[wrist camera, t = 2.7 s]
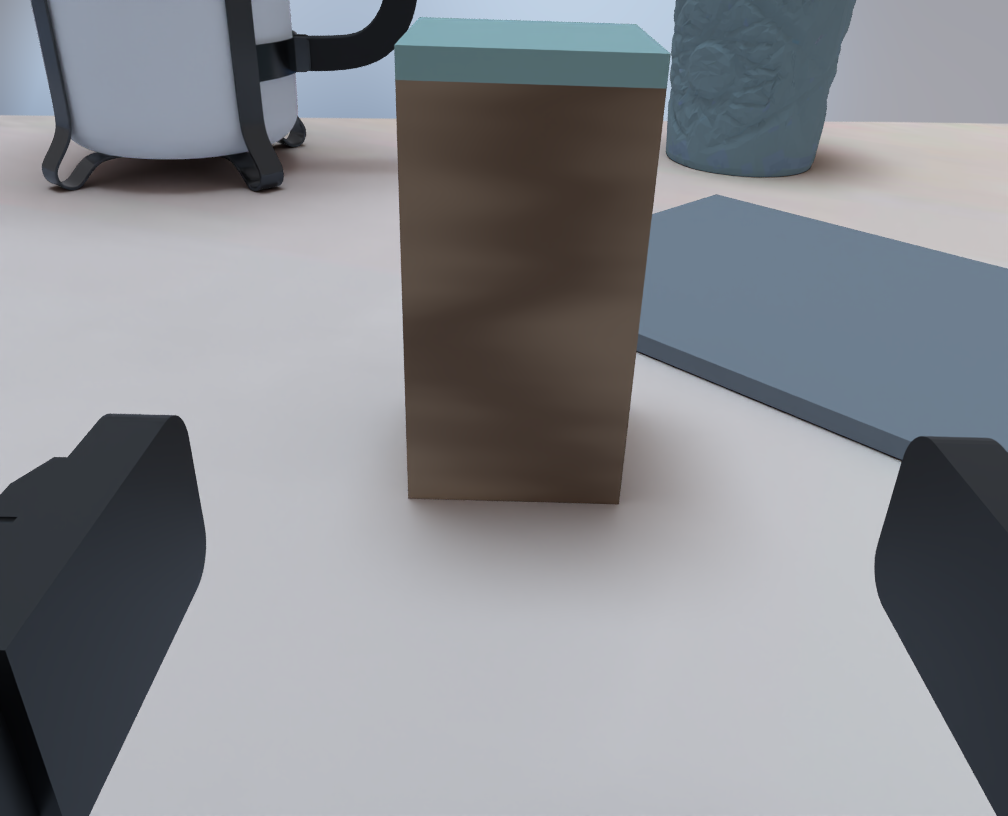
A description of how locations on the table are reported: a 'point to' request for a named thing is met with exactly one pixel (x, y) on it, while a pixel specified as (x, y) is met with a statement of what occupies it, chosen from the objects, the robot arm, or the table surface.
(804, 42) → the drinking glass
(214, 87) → the coffee press
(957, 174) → the table surface
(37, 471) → the robot arm
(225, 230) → the table surface
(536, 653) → the table surface
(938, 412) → the mat
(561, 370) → the walnut block
